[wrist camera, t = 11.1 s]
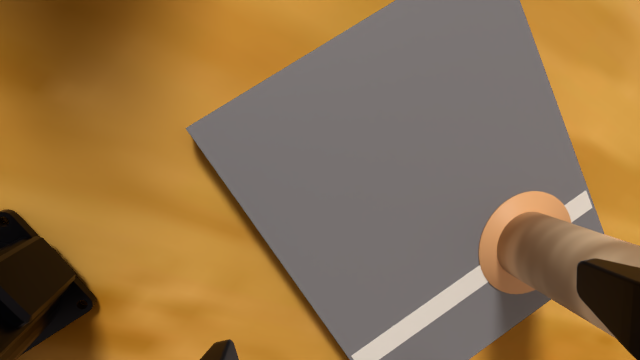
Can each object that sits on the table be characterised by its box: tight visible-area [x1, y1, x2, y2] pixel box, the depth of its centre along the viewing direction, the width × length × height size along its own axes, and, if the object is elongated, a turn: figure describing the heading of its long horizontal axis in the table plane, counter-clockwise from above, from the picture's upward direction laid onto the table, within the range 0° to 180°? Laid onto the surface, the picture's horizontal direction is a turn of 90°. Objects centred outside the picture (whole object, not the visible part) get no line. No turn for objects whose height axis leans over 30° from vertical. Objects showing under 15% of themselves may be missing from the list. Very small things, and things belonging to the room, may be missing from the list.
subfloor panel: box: [186, 0, 604, 360], centre depth 21 cm, size 19×22×2 cm
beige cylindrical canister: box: [497, 212, 640, 337], centre depth 16 cm, size 5×5×12 cm
